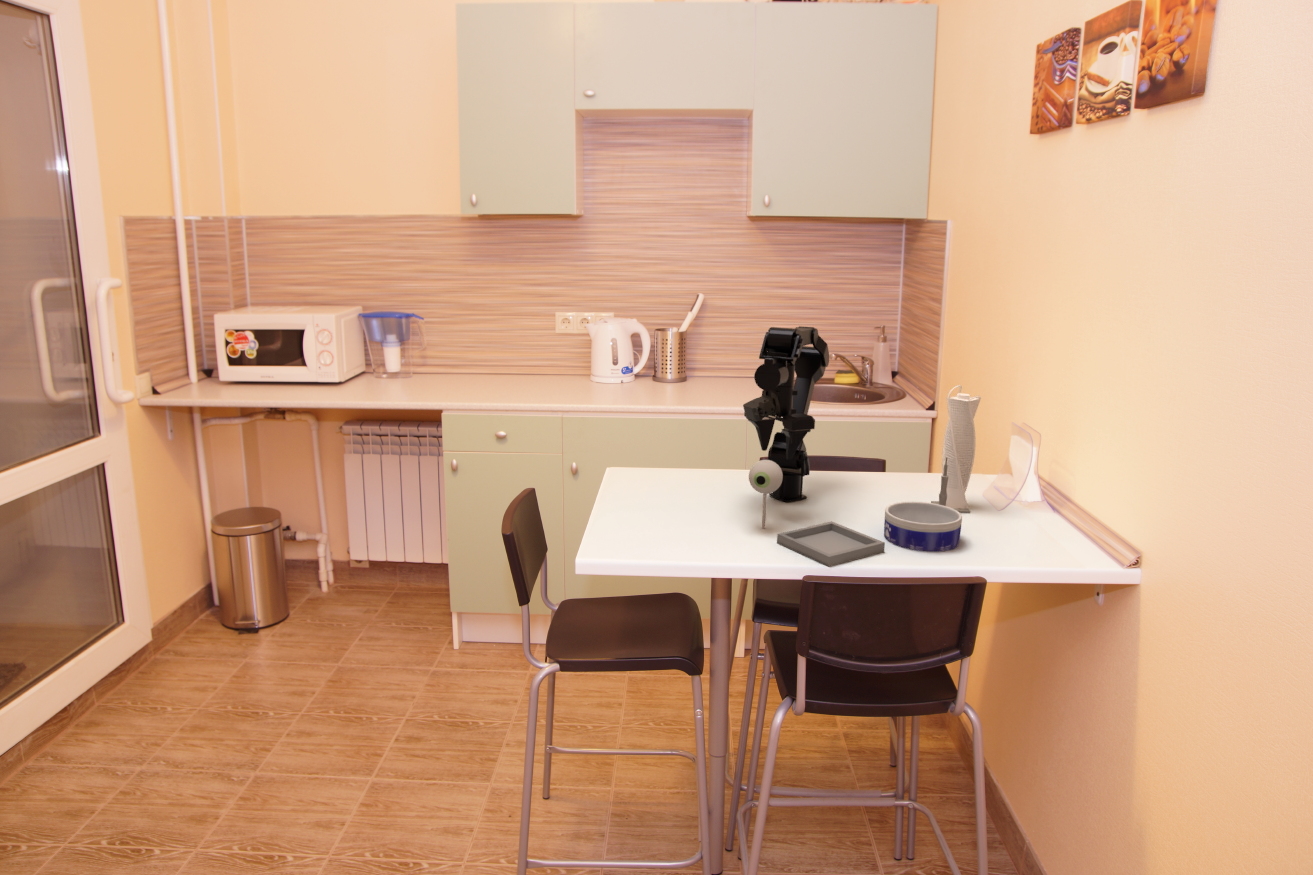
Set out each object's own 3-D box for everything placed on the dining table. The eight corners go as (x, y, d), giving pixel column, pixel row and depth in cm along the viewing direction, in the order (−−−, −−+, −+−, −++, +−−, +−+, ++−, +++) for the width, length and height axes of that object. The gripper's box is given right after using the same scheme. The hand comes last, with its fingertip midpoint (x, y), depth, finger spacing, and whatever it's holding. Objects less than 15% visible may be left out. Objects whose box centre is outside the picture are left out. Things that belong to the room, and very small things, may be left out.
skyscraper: (929, 500, 214) (939, 383, 208) (964, 501, 214) (975, 384, 208) (939, 512, 206) (950, 390, 200) (975, 513, 206) (987, 391, 199)
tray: (831, 530, 193) (831, 521, 193) (884, 552, 181) (884, 542, 181) (776, 542, 185) (777, 533, 185) (828, 566, 173) (829, 556, 173)
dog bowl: (868, 532, 193) (870, 505, 192) (926, 523, 199) (928, 497, 197) (914, 557, 179) (917, 528, 178) (975, 547, 185) (978, 518, 184)
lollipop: (742, 530, 192) (745, 462, 189) (752, 520, 199) (754, 454, 195) (775, 535, 190) (778, 466, 186) (783, 525, 196) (787, 458, 192)
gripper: (726, 380, 204) (723, 449, 207) (776, 393, 188) (772, 466, 191) (766, 379, 209) (763, 445, 212) (818, 390, 193) (813, 462, 196)
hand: (776, 454), depth 203 cm, fingers open, 9 cm apart
